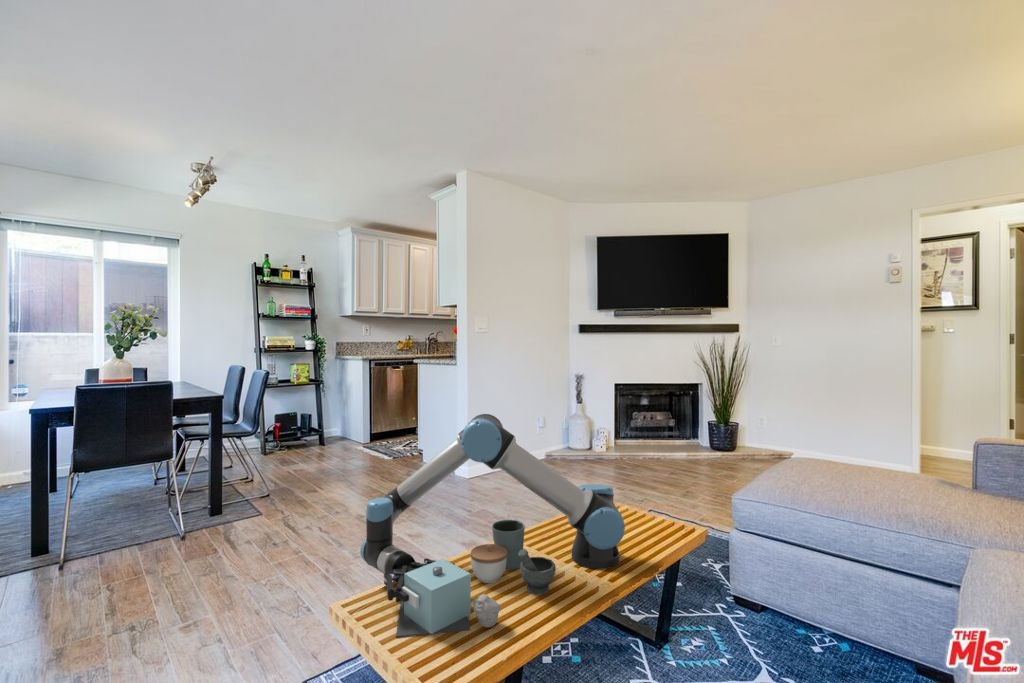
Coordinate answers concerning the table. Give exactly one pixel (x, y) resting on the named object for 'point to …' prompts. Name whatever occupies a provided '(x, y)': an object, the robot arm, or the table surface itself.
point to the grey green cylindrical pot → (509, 540)
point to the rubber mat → (413, 629)
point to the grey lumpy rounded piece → (486, 610)
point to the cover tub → (438, 595)
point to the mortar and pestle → (536, 572)
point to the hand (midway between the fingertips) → (441, 592)
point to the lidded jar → (488, 562)
